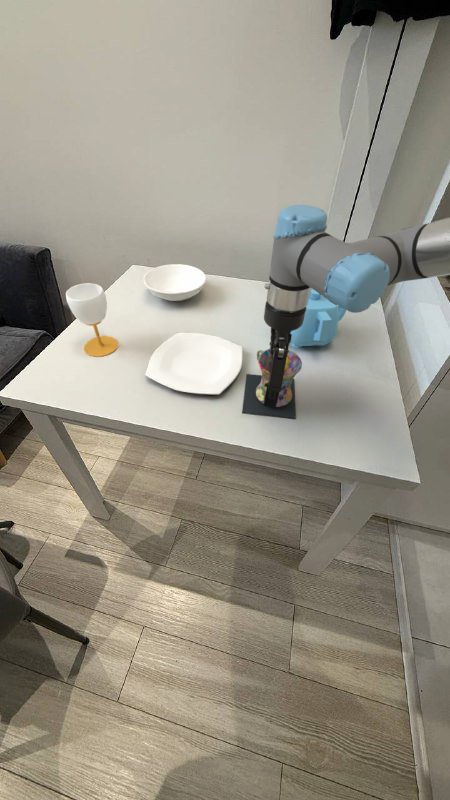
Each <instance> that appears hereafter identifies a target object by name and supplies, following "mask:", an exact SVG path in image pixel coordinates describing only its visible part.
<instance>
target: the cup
mask: <svg viewBox="0 0 450 800" xmlns="http://www.w3.org/2000/svg"><path fill="white" fill-rule="evenodd" d="M65 298H66V303H67V305H68V307H69V310H70V311H71V313H72V314H73V316H74V317H75V318H76V319H77V320H78V321H79V322H80V323H81V324H84V325H86V326H89V327H90V326H92V327H93V330H94V333H95V336H96V337H92V338H91V339H88V340H87V341H86V343H85V344H83V351H84V352H85V354H86V355H88V356H90V357H95V358H98V357H100V358H101V357H105V356H108V355H111V354H112V353H114V352H115V351H116V350H117V349H118V347H119V341H118V340H117V338H114V337H113V336H109V335H100V332H99V328H98V325H100V324H101V323H102V322H103V320H105V319H106V314H107V309H108V301H107V295H106V294H105V291H104V289H103V288H102V286H101V285H99V284H97V283H93V282H87V283H86V282H85V283H80V284H75V285H73V286H71V287H69V289H66V292H65Z"/></svg>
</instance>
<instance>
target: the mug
mask: <svg viewBox="0 0 450 800" xmlns="http://www.w3.org/2000/svg"><path fill="white" fill-rule="evenodd" d="M274 349H275V348H273V350H274ZM256 360H257V363H258V364H257V365H258V366H259V368H260V373H261V375H262V379H261V383H260V384H259V385H258V387H257V388H256V396H257V398H258V399H259V400H260V401H261V402H262V403H263V404H264V400H265V394H266V388H267V387H264V385H265V383H267V382H269V375H270V367H271V360H272V355H271V354H270V348H268V349H265V350H262V349H259V350H258V351H256ZM302 368H303V362H302V359H301V358H300V356H299V355H298V354H297V353H296V352H294V351H292V350H290V349H289V353H288V355H287V359H286V364H285V370H284V375H283V381H282V387H281V388H282V390H281V392H279V395H278V400H277V404H276V407H281V406H284V405H286V404H288V403H289V402H290V401H291V399H292V391H291V383H292V380H293V379H295V377H296V376H297V375H298V374H299V372H300V371H302Z"/></svg>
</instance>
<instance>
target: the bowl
mask: <svg viewBox="0 0 450 800" xmlns="http://www.w3.org/2000/svg"><path fill="white" fill-rule="evenodd" d="M206 281H207V277H206V274H205V272H204V271H203V270H201V269H199V268H197V267H195V266H192V265H190V264H189V265H187V264H180V263H173V264H171V263H170V264H163V265H160V266H156V267H154V268H151V269H150V270H148V271H147V272H146V273H145V274H144V276H143V281H142V283H143V284H144V285H145V286H146V287H147V288H148V289H149V292H150V293H151V294H152V295H154V296H155V297H158V298H159V299H163V300H165V301H169V302H170V301H171V302H181V301H185V300H188V299H190V298H192V297H195V296H196V295H197V294H199V293H200V292H201V290H202V288H203V286H204V285H205V283H206Z"/></svg>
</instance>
